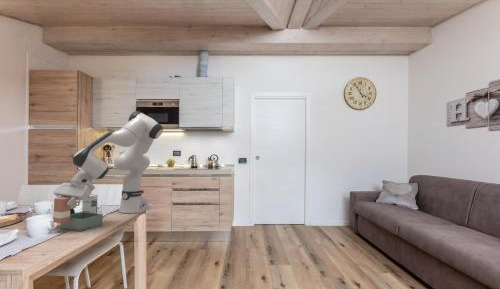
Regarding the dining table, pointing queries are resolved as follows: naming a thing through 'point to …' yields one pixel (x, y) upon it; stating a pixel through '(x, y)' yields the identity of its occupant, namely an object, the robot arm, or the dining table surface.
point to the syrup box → (90, 204)
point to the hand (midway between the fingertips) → (62, 204)
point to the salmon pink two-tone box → (61, 210)
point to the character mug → (74, 206)
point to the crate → (83, 221)
